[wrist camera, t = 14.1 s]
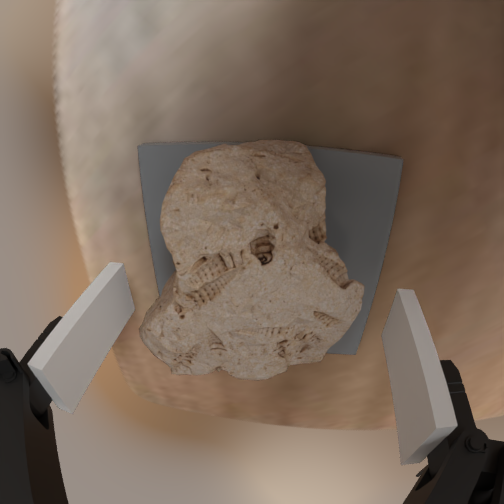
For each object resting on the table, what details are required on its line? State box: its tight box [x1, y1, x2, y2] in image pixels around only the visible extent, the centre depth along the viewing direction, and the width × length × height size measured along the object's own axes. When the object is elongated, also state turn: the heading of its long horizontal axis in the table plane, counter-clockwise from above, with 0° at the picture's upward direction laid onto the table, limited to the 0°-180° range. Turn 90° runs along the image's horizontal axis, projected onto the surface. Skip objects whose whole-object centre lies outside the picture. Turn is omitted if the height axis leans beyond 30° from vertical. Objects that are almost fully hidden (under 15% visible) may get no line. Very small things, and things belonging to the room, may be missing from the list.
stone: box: [139, 140, 365, 381], centre depth 13 cm, size 9×12×5 cm
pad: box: [138, 142, 403, 355], centre depth 16 cm, size 12×12×1 cm
